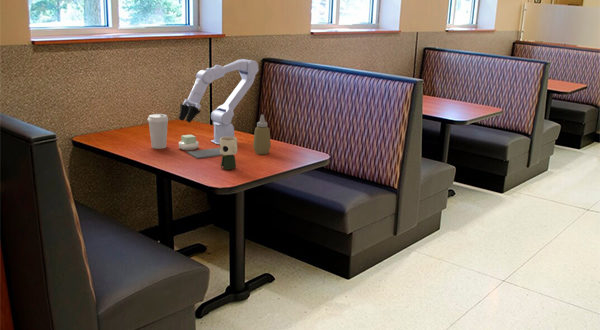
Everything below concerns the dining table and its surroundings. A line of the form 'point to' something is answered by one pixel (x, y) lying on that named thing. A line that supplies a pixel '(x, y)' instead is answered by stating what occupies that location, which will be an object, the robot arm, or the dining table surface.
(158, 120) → the coffee cup
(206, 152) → the mat
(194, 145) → the white shallow dome
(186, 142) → the pale green square block
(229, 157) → the character mug
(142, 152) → the dining table surface
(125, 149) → the dining table surface
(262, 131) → the squeeze bottle
